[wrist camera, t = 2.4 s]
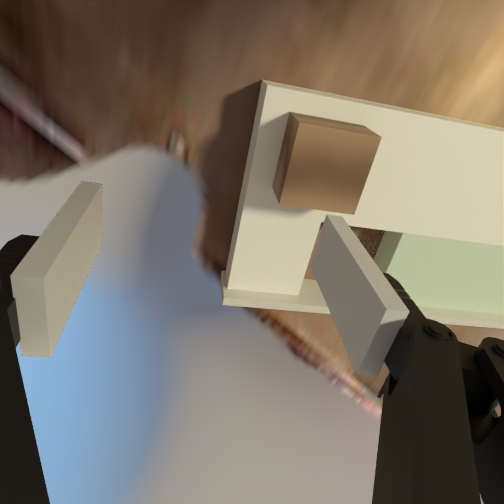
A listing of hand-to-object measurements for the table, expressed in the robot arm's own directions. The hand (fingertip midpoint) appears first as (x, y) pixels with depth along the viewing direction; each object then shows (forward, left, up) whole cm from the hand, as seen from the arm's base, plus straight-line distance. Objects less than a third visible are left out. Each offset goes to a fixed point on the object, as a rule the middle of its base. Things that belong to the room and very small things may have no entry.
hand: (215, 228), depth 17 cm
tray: (+4, +24, -18) cm, 30 cm away
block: (0, +9, -15) cm, 17 cm away
